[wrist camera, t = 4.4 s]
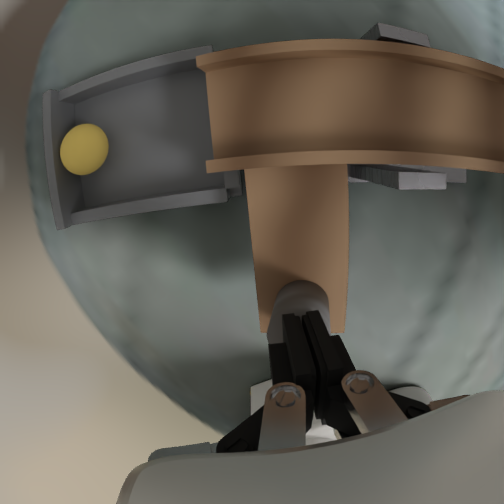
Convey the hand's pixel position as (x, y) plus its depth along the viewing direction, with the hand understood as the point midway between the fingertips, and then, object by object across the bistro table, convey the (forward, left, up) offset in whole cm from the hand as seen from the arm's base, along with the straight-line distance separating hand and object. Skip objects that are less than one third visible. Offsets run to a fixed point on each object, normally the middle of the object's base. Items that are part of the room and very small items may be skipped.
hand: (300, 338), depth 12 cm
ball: (+12, -10, -6) cm, 17 cm away
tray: (+9, -10, -8) cm, 16 cm away
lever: (-7, -6, -3) cm, 9 cm away
